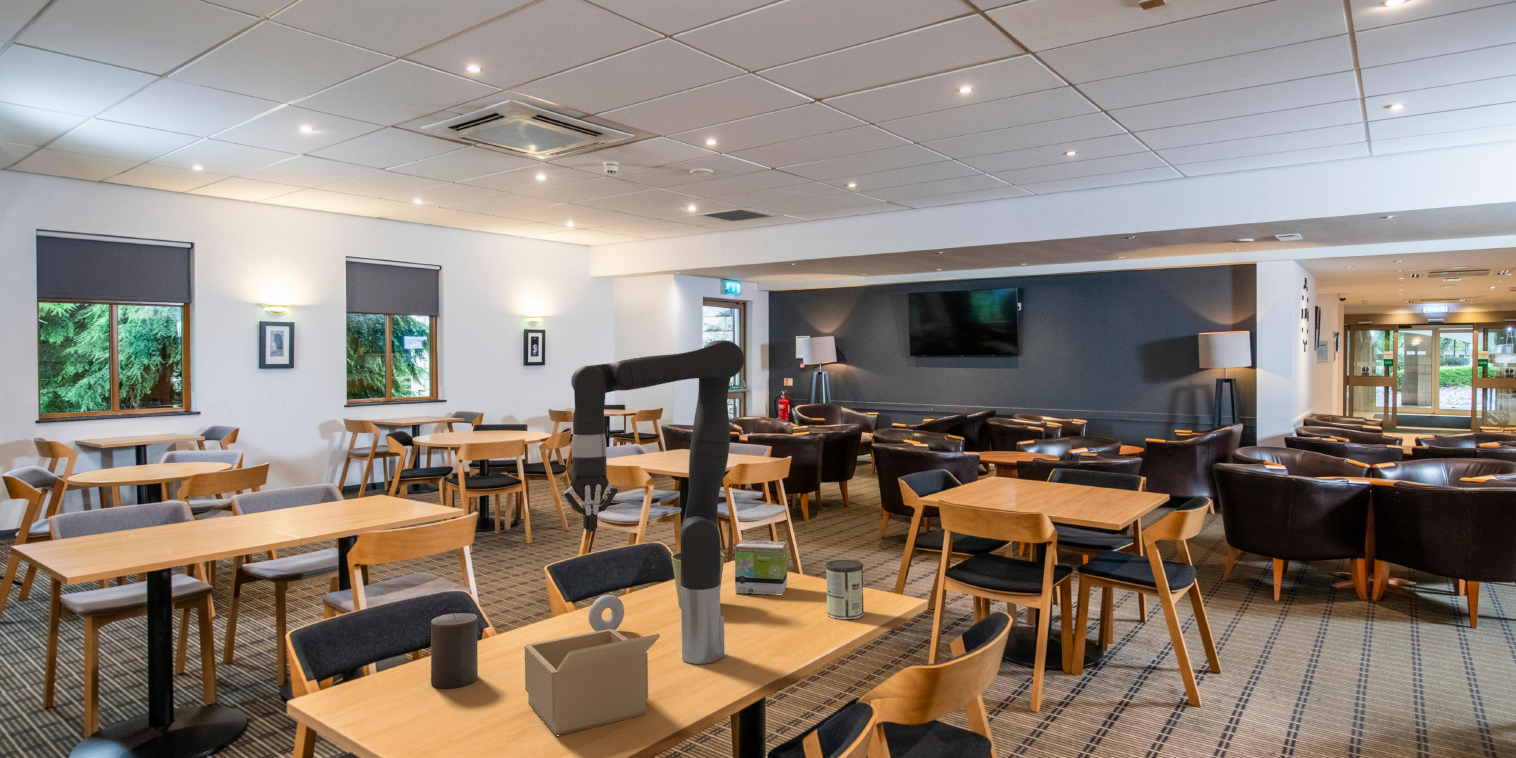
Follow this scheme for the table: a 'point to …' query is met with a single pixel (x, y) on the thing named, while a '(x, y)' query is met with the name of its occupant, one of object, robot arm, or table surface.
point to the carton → (584, 684)
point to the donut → (600, 606)
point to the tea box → (760, 567)
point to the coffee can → (844, 589)
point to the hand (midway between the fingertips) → (590, 531)
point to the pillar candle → (454, 650)
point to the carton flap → (607, 652)
